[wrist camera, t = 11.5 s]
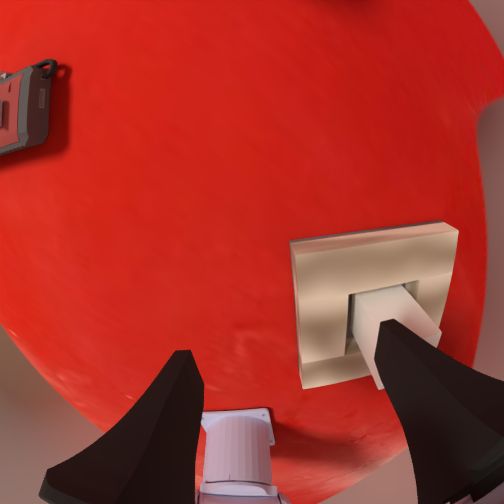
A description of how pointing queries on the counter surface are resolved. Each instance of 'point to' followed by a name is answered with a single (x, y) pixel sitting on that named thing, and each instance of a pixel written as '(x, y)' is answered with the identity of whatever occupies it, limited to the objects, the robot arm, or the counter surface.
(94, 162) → the counter surface
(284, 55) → the counter surface
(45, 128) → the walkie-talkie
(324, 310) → the holder block
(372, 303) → the white rectangular block
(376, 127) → the counter surface
